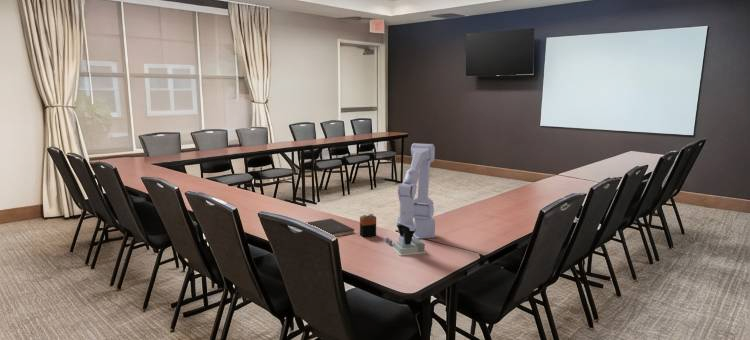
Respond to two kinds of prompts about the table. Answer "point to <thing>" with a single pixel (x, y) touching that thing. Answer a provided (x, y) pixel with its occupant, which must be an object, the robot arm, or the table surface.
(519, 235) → the table surface
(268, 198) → the table surface
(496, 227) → the table surface
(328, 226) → the hardcover book
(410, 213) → the robot arm
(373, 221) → the battery
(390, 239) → the holster
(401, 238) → the plug
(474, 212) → the table surface
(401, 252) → the port
